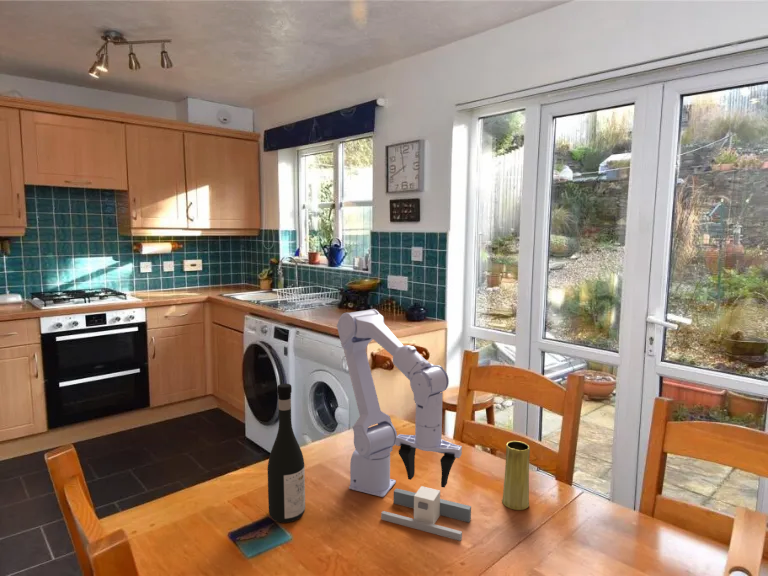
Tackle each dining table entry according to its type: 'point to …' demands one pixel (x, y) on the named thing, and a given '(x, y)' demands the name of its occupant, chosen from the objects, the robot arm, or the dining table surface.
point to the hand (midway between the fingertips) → (427, 481)
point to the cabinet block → (427, 505)
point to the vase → (516, 476)
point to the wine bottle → (286, 466)
